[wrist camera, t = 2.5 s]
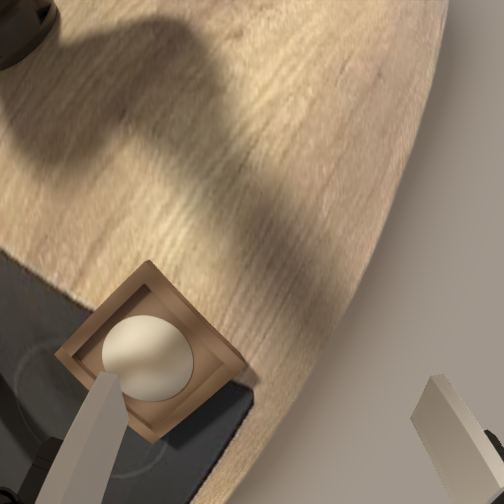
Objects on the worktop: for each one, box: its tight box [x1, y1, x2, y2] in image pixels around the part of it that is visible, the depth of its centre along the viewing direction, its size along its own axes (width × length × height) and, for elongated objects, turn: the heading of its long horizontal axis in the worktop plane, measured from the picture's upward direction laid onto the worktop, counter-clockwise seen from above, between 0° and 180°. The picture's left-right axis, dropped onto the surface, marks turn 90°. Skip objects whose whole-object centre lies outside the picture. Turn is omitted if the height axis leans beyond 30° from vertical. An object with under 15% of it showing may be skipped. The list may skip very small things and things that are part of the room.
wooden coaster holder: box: [54, 260, 246, 444], centre depth 33 cm, size 15×15×4 cm
